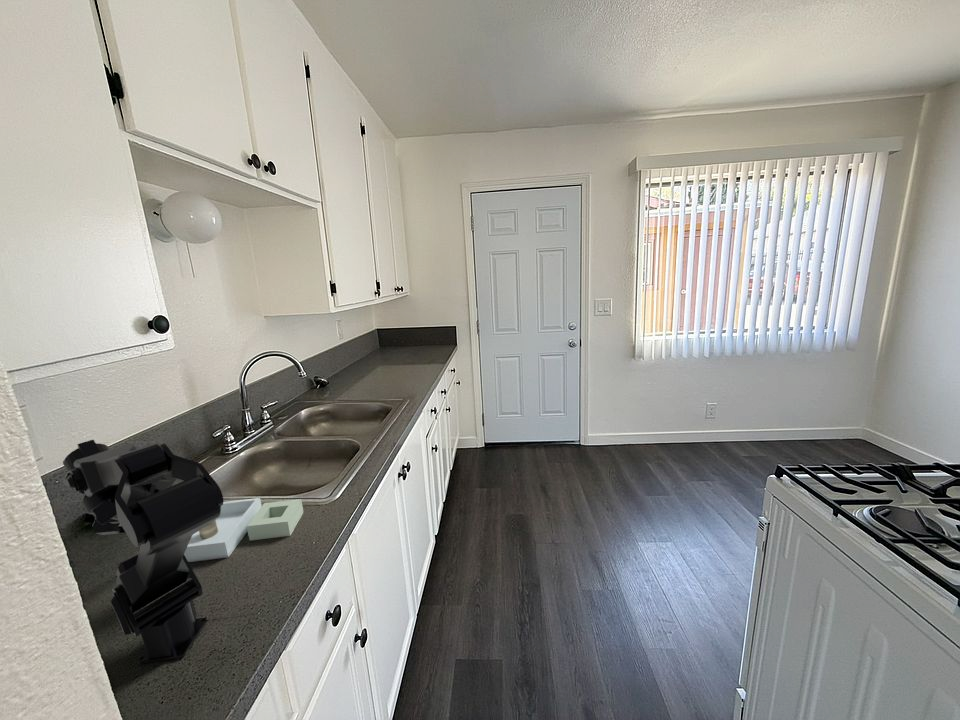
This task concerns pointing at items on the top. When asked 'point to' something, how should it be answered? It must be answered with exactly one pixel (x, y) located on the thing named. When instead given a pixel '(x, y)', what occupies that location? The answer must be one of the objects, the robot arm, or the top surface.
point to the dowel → (209, 530)
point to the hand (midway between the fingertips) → (186, 518)
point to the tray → (224, 531)
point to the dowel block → (275, 519)
